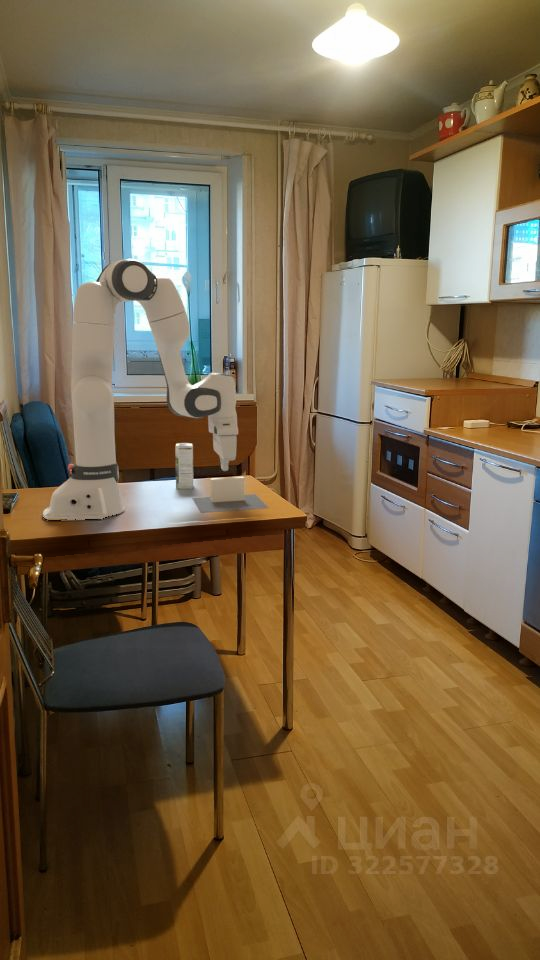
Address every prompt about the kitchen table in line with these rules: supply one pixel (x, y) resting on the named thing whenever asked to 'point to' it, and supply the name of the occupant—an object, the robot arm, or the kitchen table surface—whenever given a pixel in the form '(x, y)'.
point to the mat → (229, 504)
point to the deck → (227, 489)
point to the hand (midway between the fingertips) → (224, 469)
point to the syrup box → (184, 465)
